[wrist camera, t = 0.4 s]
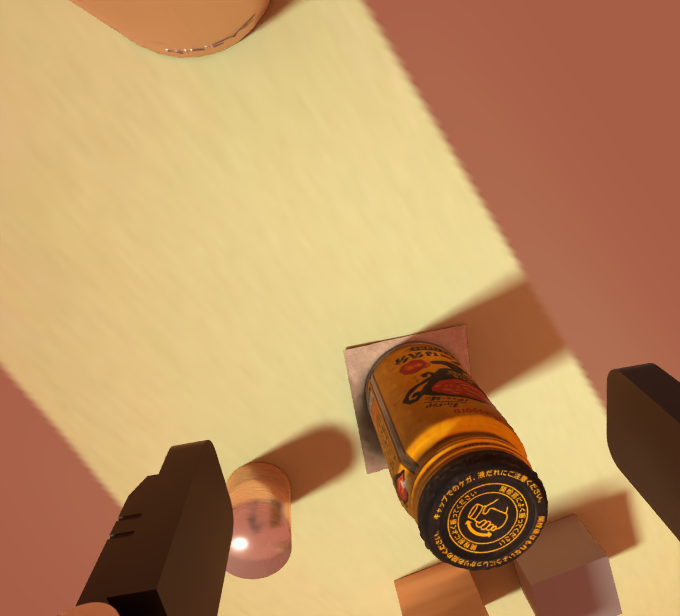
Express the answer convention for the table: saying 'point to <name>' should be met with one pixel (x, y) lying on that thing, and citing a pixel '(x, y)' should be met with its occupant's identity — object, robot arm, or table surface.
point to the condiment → (446, 449)
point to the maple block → (440, 593)
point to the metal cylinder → (259, 520)
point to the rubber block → (567, 573)
